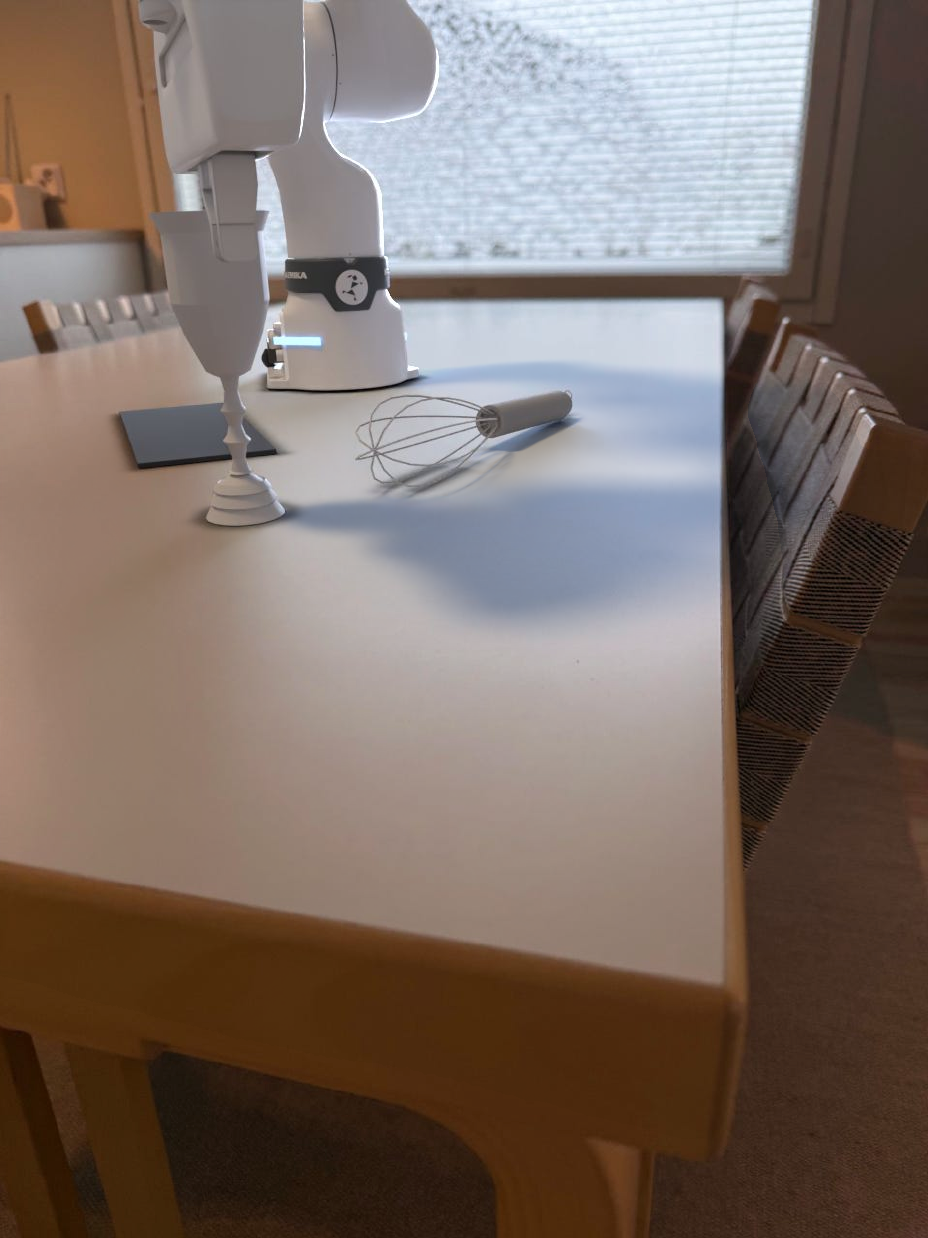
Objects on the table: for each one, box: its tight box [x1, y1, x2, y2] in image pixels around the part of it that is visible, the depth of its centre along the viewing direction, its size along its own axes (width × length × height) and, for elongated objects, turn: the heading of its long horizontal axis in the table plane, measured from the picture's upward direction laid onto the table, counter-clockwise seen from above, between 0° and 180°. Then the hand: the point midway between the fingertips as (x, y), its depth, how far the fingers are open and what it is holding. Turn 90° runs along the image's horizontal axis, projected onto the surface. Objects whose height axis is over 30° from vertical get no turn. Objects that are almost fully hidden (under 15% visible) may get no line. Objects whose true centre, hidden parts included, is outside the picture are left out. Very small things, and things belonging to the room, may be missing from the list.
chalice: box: [147, 209, 286, 527], centre depth 57 cm, size 7×7×18 cm
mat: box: [118, 402, 278, 469], centre depth 86 cm, size 26×11×1 cm, turn 22°
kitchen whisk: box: [354, 389, 573, 488], centre depth 75 cm, size 6×34×6 cm, turn 151°
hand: (236, 261), depth 48 cm, fingers closed
